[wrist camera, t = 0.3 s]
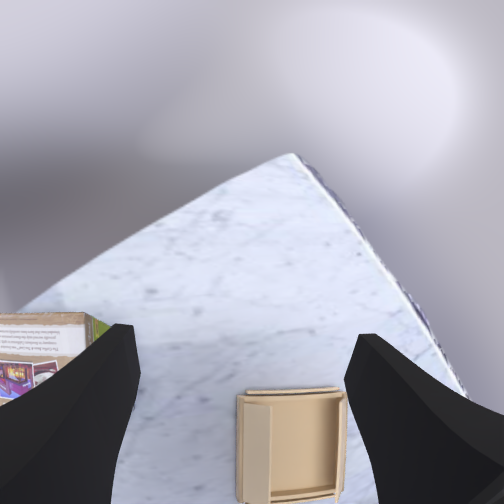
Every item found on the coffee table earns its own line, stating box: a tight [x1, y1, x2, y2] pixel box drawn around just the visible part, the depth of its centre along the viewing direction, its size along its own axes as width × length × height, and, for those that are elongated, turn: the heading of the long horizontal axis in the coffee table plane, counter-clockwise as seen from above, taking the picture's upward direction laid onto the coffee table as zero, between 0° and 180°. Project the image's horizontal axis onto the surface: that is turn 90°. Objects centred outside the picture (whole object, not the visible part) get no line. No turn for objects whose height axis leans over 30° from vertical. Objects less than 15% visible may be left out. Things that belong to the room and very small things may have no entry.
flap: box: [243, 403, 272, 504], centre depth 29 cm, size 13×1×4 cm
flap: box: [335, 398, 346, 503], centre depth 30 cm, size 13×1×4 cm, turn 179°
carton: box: [236, 387, 347, 504], centre depth 32 cm, size 15×13×3 cm
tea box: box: [0, 312, 134, 410], centre depth 26 cm, size 15×10×15 cm, turn 97°
